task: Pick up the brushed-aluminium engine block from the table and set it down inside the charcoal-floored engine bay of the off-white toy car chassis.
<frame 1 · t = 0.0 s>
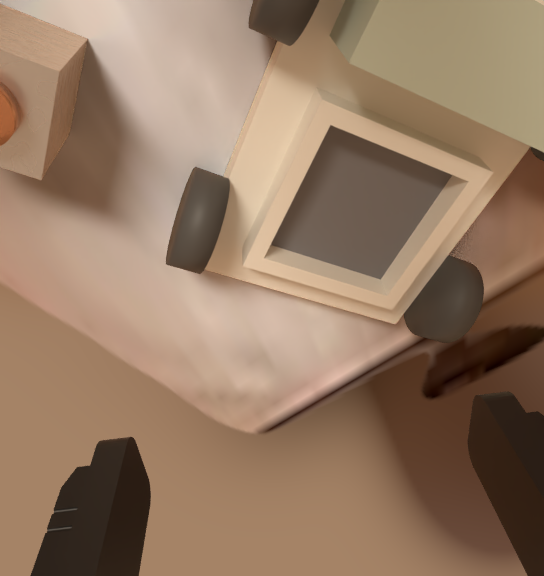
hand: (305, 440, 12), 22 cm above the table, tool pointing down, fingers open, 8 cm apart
engine block: (25, 68, 27), on the table
chassis: (372, 149, 31), on the table
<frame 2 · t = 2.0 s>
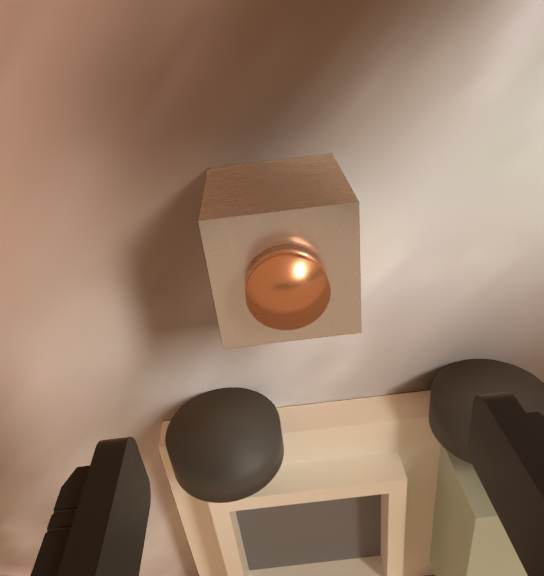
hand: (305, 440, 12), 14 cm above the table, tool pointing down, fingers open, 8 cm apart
engine block: (276, 217, 24), on the table
chassis: (350, 487, 34), on the table
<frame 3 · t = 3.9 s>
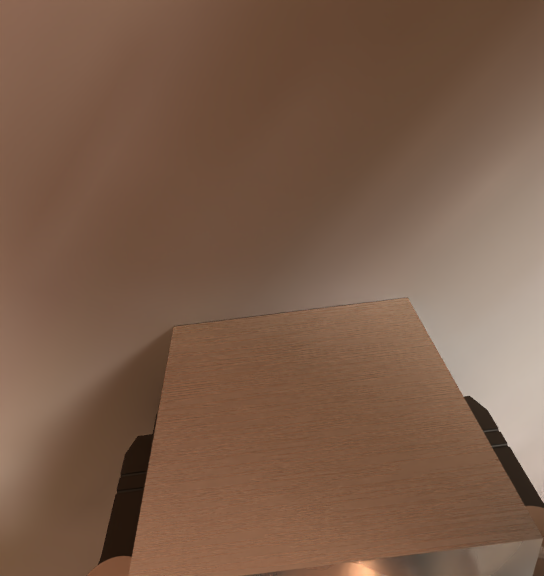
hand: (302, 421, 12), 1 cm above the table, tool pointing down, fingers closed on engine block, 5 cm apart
engine block: (299, 399, 13), on the table, touching gripper
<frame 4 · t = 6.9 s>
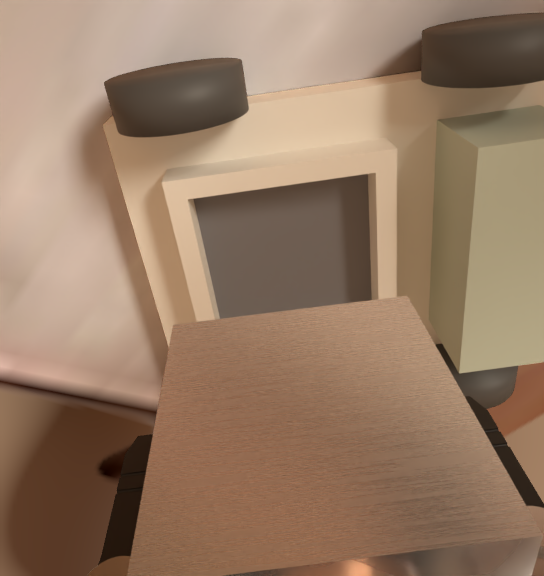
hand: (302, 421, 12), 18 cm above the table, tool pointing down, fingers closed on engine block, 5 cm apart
engine block: (299, 397, 13), point 17 cm above the table, touching gripper
chassis: (336, 228, 29), on the table
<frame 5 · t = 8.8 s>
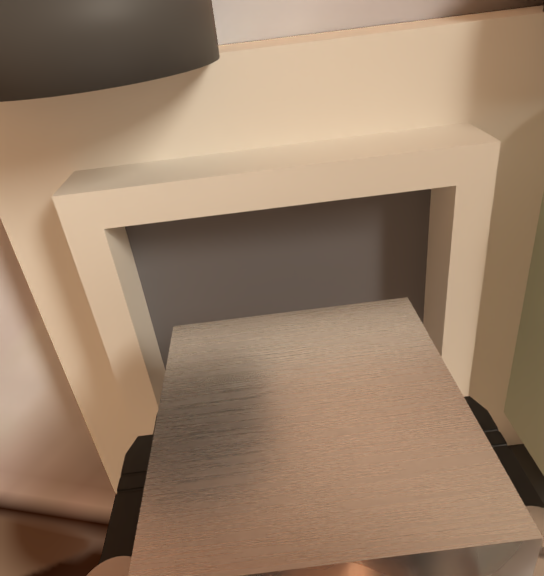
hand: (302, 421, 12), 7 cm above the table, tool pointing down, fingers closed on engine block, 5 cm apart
engine block: (299, 398, 13), point 6 cm above the table, touching gripper
chassis: (364, 270, 18), on the table
when the fingers open (4 cm above the table, at t = 10.2 s): engine block drops 1 cm, resting on chassis.
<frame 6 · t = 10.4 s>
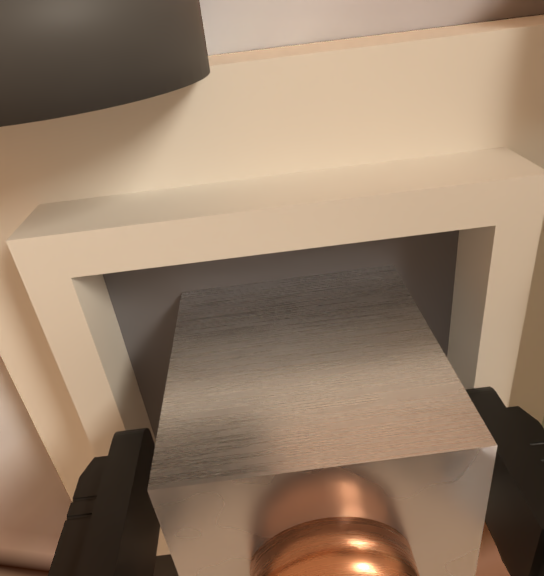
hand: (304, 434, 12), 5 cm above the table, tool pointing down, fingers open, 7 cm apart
engine block: (296, 361, 14), point 2 cm above the table, touching chassis
chassis: (377, 308, 16), on the table
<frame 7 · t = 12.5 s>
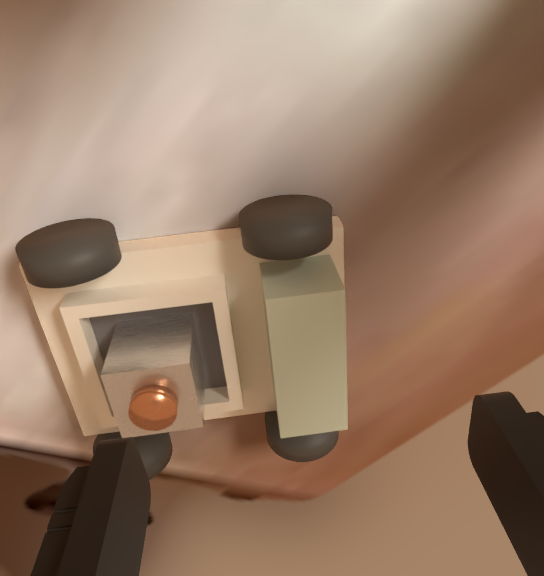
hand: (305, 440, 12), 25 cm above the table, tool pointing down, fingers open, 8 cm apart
engine block: (162, 347, 38), point 2 cm above the table, touching chassis
chassis: (202, 326, 40), on the table
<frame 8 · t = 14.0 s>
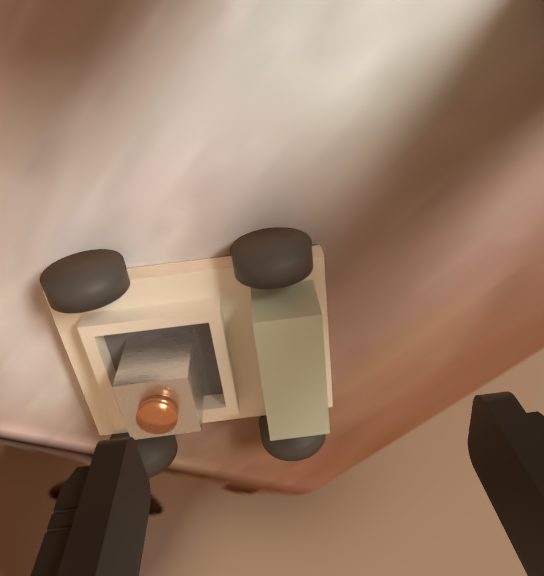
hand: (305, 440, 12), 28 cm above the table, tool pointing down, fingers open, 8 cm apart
engine block: (167, 359, 43), point 2 cm above the table, touching chassis
chassis: (202, 340, 45), on the table
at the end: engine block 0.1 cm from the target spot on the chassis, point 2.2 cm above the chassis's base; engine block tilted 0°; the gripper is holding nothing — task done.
